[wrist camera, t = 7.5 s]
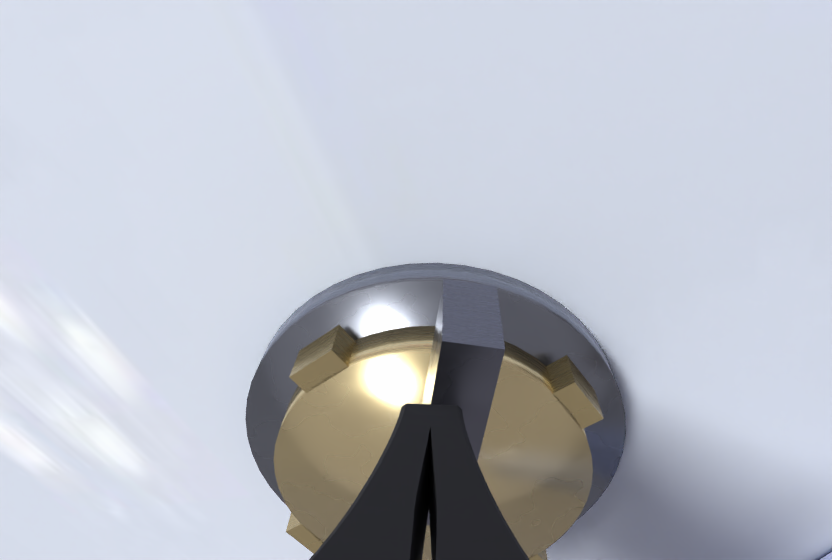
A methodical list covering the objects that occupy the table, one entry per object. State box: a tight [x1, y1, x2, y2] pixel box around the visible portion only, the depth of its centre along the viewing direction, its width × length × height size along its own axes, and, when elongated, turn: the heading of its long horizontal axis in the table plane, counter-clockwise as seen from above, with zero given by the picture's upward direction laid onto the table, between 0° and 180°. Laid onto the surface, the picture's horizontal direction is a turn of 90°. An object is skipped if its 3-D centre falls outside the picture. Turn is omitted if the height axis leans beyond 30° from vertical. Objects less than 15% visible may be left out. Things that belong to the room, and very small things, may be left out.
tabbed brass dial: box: [274, 279, 604, 560], centre depth 19 cm, size 12×12×4 cm
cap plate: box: [246, 263, 626, 520], centre depth 22 cm, size 14×14×1 cm
